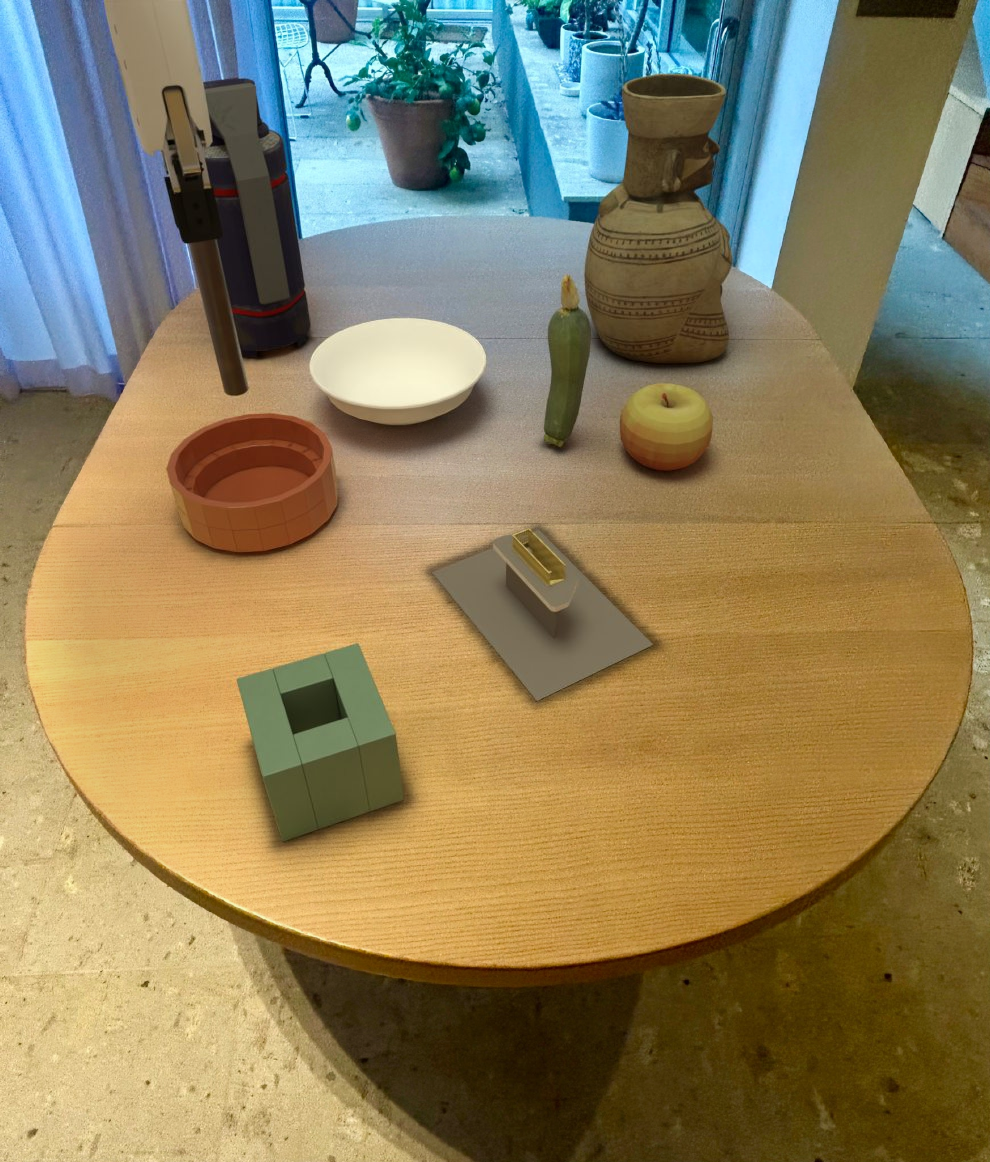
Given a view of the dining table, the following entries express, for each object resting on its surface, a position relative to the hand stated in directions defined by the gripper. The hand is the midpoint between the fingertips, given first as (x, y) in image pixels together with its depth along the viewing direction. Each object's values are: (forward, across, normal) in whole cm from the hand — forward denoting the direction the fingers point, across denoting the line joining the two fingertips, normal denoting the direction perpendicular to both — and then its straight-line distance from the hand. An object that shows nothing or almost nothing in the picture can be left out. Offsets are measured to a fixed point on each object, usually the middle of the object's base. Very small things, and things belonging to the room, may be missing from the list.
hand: (199, 231), depth 71 cm
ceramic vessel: (+28, -15, +54) cm, 63 cm away
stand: (+28, +34, -2) cm, 44 cm away
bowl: (+28, -12, +19) cm, 36 cm away
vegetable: (+28, +2, +33) cm, 43 cm away
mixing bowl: (+28, 0, 0) cm, 28 cm away
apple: (+28, +8, +42) cm, 51 cm away
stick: (+15, 0, 0) cm, 15 cm away
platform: (+28, +24, +20) cm, 42 cm away
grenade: (+28, -34, +8) cm, 45 cm away
